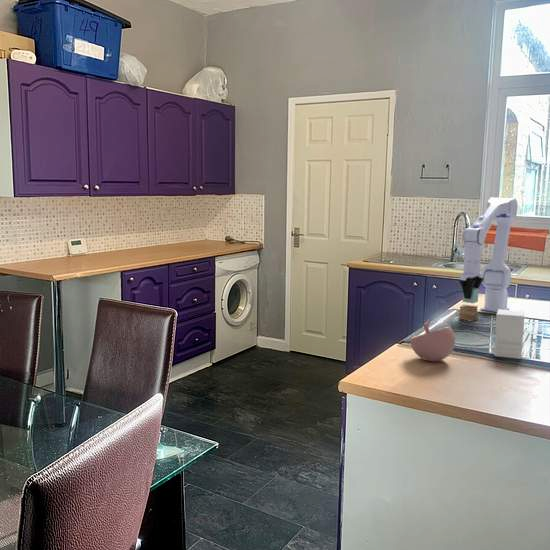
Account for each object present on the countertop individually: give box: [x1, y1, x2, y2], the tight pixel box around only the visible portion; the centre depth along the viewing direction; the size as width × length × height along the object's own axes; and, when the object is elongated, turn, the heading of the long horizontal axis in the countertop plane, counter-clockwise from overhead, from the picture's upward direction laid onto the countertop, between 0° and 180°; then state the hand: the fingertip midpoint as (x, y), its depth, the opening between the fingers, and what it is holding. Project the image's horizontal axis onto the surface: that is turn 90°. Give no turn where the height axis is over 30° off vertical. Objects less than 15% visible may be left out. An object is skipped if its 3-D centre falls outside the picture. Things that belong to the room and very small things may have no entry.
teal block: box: [462, 287, 480, 304], centre depth 206 cm, size 4×4×5 cm
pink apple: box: [409, 319, 456, 362], centre depth 157 cm, size 12×12×12 cm
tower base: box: [458, 312, 479, 322], centre depth 207 cm, size 5×5×2 cm
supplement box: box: [494, 309, 525, 360], centre depth 163 cm, size 7×7×13 cm
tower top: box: [459, 303, 478, 315], centre depth 207 cm, size 5×5×2 cm
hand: (470, 297), depth 206 cm, fingers closed on teal block, 4 cm apart
